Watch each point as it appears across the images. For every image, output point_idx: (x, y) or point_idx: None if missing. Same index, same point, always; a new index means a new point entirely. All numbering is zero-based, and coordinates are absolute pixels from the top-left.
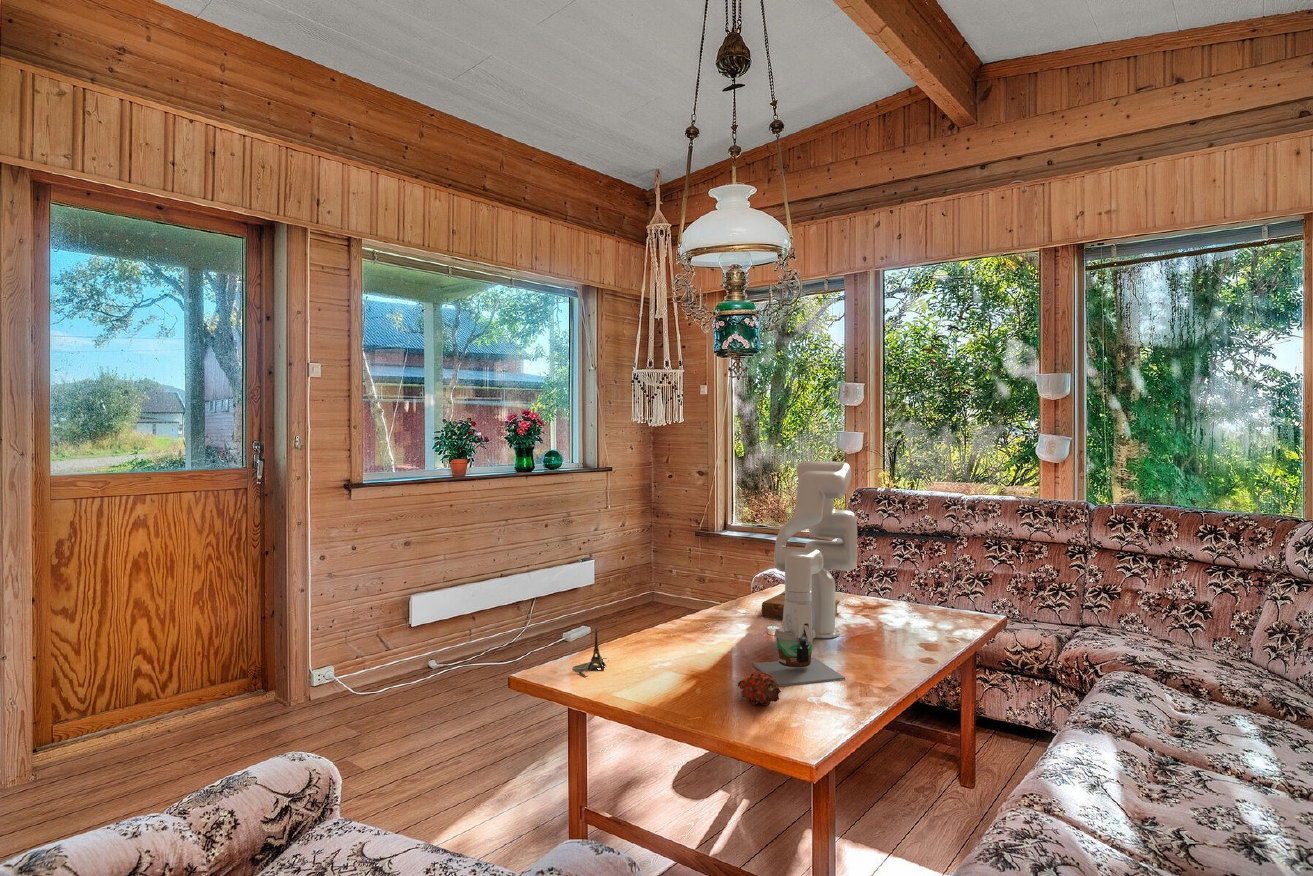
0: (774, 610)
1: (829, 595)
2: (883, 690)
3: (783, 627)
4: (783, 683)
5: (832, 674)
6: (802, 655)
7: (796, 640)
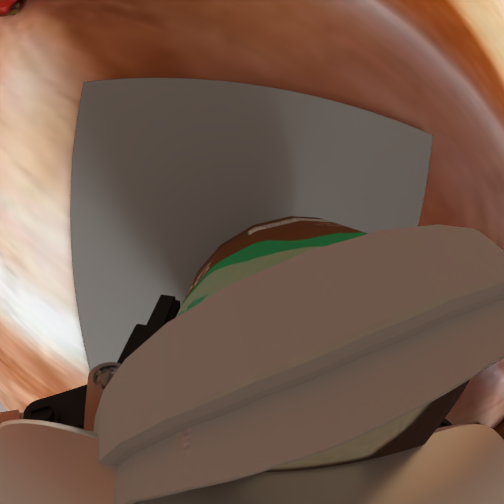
0: None
1: None
2: (26, 406)
3: (490, 450)
4: (84, 107)
5: None
6: (127, 346)
7: (95, 417)
